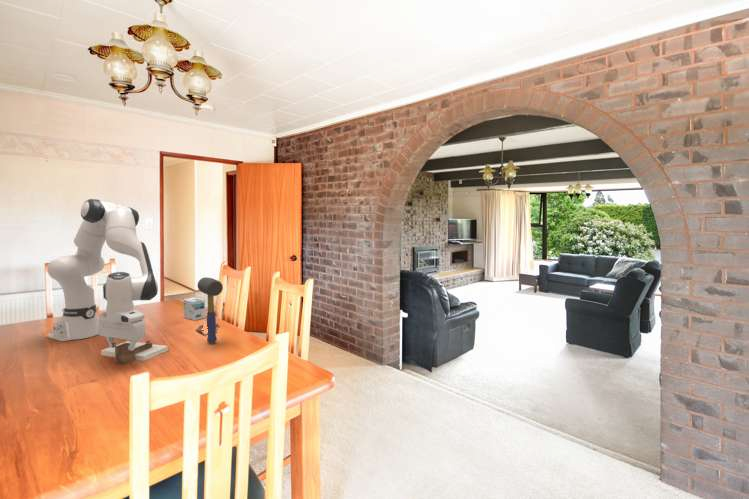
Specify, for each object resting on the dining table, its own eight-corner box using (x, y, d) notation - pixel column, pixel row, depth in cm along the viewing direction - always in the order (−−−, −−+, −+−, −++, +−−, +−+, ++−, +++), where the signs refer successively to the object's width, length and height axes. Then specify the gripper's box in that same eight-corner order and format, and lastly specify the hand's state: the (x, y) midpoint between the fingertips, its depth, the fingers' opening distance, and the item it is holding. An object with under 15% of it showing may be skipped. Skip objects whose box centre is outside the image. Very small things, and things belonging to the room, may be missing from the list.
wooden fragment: (218, 335, 181) (218, 333, 181) (193, 338, 178) (193, 335, 178) (220, 321, 206) (220, 319, 205) (198, 323, 202) (198, 321, 202)
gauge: (115, 364, 146) (114, 346, 145) (147, 351, 160) (146, 335, 159) (123, 365, 145) (122, 347, 144) (154, 352, 159) (153, 336, 158)
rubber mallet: (226, 344, 168) (224, 278, 165) (209, 348, 163) (206, 281, 160) (214, 338, 177) (212, 275, 174) (198, 341, 172) (195, 277, 169)
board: (101, 355, 155) (101, 350, 155) (127, 345, 166) (127, 341, 166) (144, 361, 149) (143, 356, 149) (167, 350, 161) (167, 346, 160)
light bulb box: (206, 318, 210) (205, 299, 209) (194, 320, 205) (194, 301, 204) (194, 315, 216) (194, 296, 215) (183, 317, 210) (182, 299, 209)
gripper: (92, 313, 145) (94, 348, 147) (133, 319, 140) (135, 354, 141) (107, 309, 151) (109, 342, 153) (147, 314, 146) (149, 349, 147)
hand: (122, 348), depth 147 cm, fingers open, 8 cm apart
